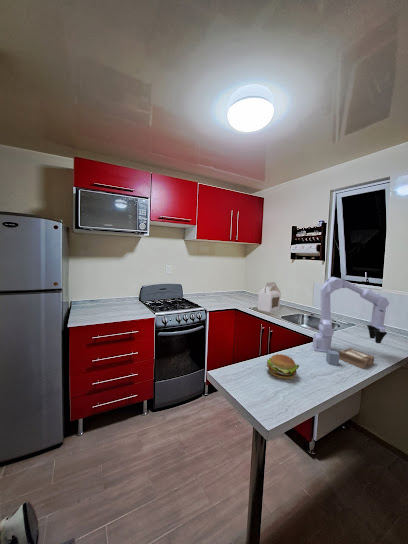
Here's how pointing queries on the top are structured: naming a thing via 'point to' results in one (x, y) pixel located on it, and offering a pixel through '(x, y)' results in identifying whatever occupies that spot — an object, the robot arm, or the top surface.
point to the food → (282, 366)
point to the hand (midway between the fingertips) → (374, 340)
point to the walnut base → (356, 358)
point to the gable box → (269, 298)
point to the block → (332, 357)
